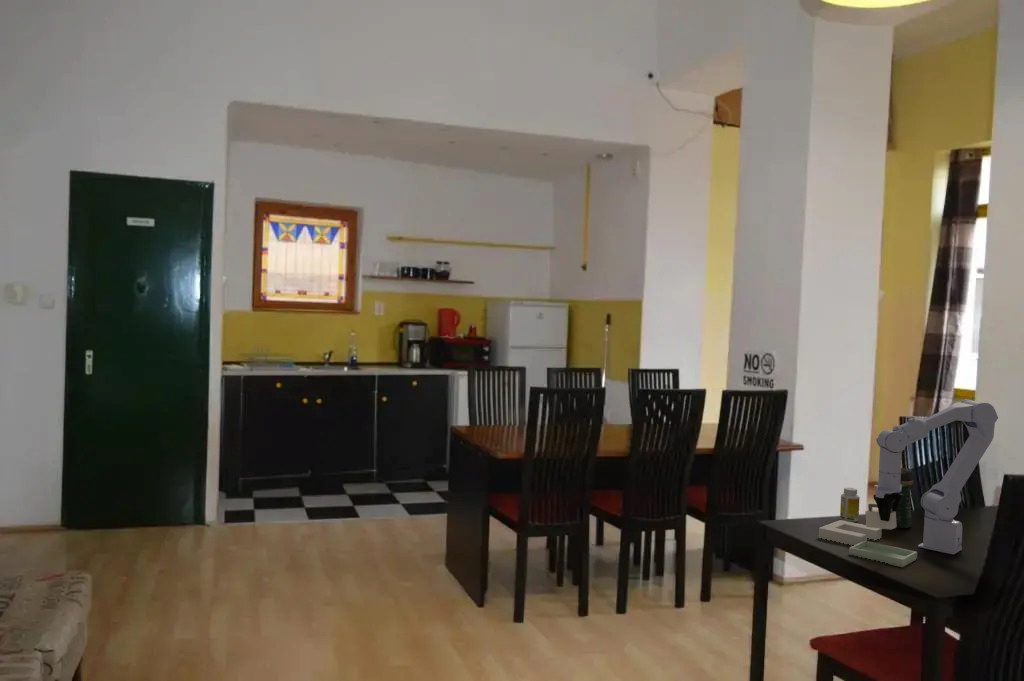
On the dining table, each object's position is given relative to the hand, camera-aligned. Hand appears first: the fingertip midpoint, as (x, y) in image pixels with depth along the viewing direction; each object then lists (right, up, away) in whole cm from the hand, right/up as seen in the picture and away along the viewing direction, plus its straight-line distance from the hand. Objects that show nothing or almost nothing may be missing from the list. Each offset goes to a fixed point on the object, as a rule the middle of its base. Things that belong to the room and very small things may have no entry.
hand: (887, 519), depth 231 cm
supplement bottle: (+1, -7, +30) cm, 30 cm away
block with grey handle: (-1, -3, +1) cm, 3 cm away
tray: (-6, -8, -11) cm, 15 cm away
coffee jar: (+14, -8, +25) cm, 29 cm away
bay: (-7, -7, +7) cm, 12 cm away
